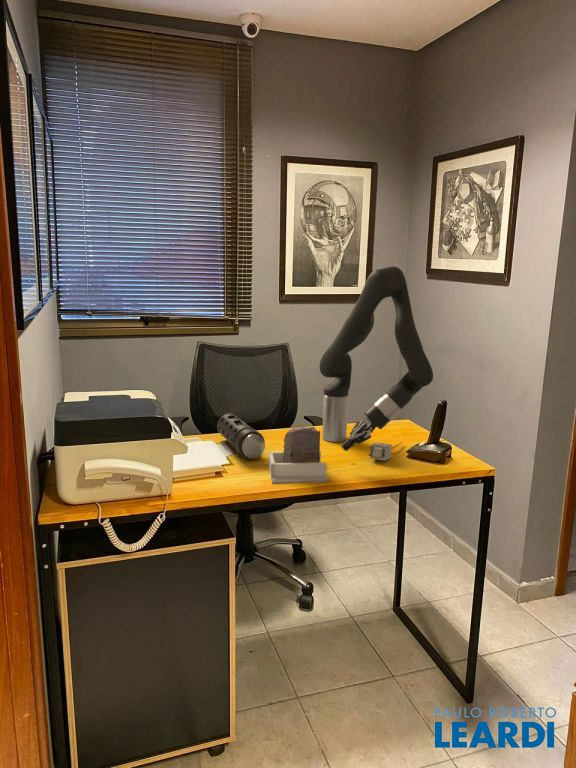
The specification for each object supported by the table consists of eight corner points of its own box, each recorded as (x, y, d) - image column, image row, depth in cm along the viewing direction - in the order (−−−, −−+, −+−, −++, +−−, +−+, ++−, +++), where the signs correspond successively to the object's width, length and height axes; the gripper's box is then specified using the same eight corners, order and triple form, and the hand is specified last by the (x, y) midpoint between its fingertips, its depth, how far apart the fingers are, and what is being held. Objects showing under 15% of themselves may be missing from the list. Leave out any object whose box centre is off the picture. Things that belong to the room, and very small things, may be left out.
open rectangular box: (268, 464, 189) (268, 451, 188) (319, 463, 191) (320, 450, 190) (272, 483, 173) (272, 469, 172) (328, 482, 175) (328, 468, 174)
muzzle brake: (240, 438, 218) (240, 411, 216) (267, 461, 193) (267, 431, 191) (216, 440, 214) (216, 413, 212) (240, 464, 189) (240, 434, 187)
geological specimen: (311, 465, 189) (312, 421, 186) (320, 471, 184) (322, 426, 180) (282, 470, 184) (283, 425, 181) (290, 476, 179) (291, 430, 176)
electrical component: (389, 452, 214) (390, 439, 214) (404, 455, 211) (406, 441, 211) (368, 458, 193) (369, 443, 193) (385, 461, 190) (386, 446, 190)
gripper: (370, 398, 188) (332, 434, 189) (380, 408, 175) (339, 447, 176) (385, 414, 190) (347, 449, 191) (396, 424, 177) (355, 463, 178)
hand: (343, 448), depth 184 cm, fingers closed
